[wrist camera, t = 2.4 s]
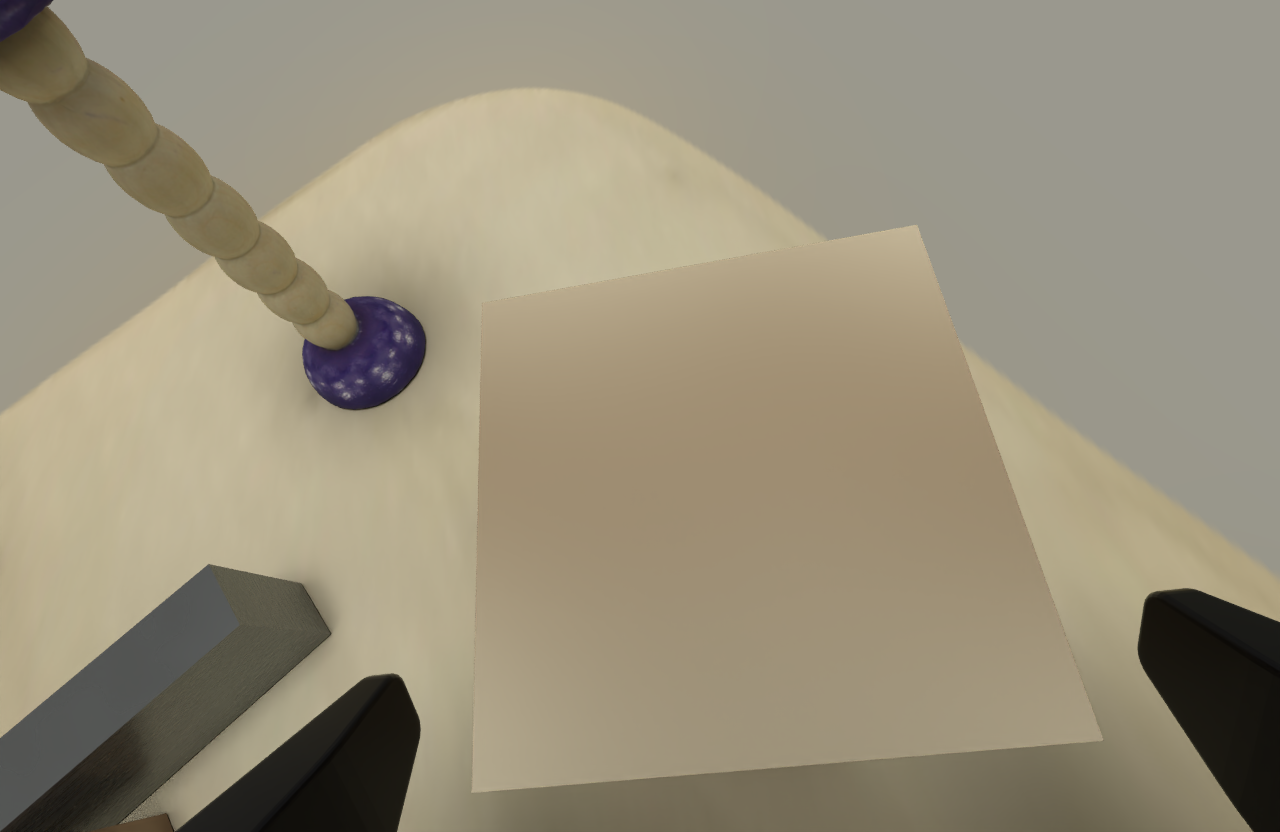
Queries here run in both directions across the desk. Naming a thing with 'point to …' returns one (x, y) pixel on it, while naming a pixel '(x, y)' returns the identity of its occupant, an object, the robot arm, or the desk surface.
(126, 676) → the rail
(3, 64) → the toy lamp
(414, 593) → the desk surface
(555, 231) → the desk surface
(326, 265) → the desk surface
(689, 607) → the wooden square post
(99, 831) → the collar
